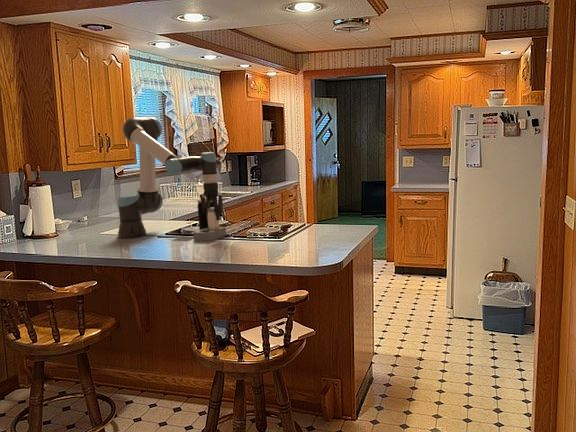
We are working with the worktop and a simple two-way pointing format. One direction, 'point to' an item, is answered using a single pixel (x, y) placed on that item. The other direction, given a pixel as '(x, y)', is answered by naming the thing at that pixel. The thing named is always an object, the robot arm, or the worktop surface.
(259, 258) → the worktop surface
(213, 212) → the plug
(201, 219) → the coffee jar
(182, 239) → the deck mat
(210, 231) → the socket box
